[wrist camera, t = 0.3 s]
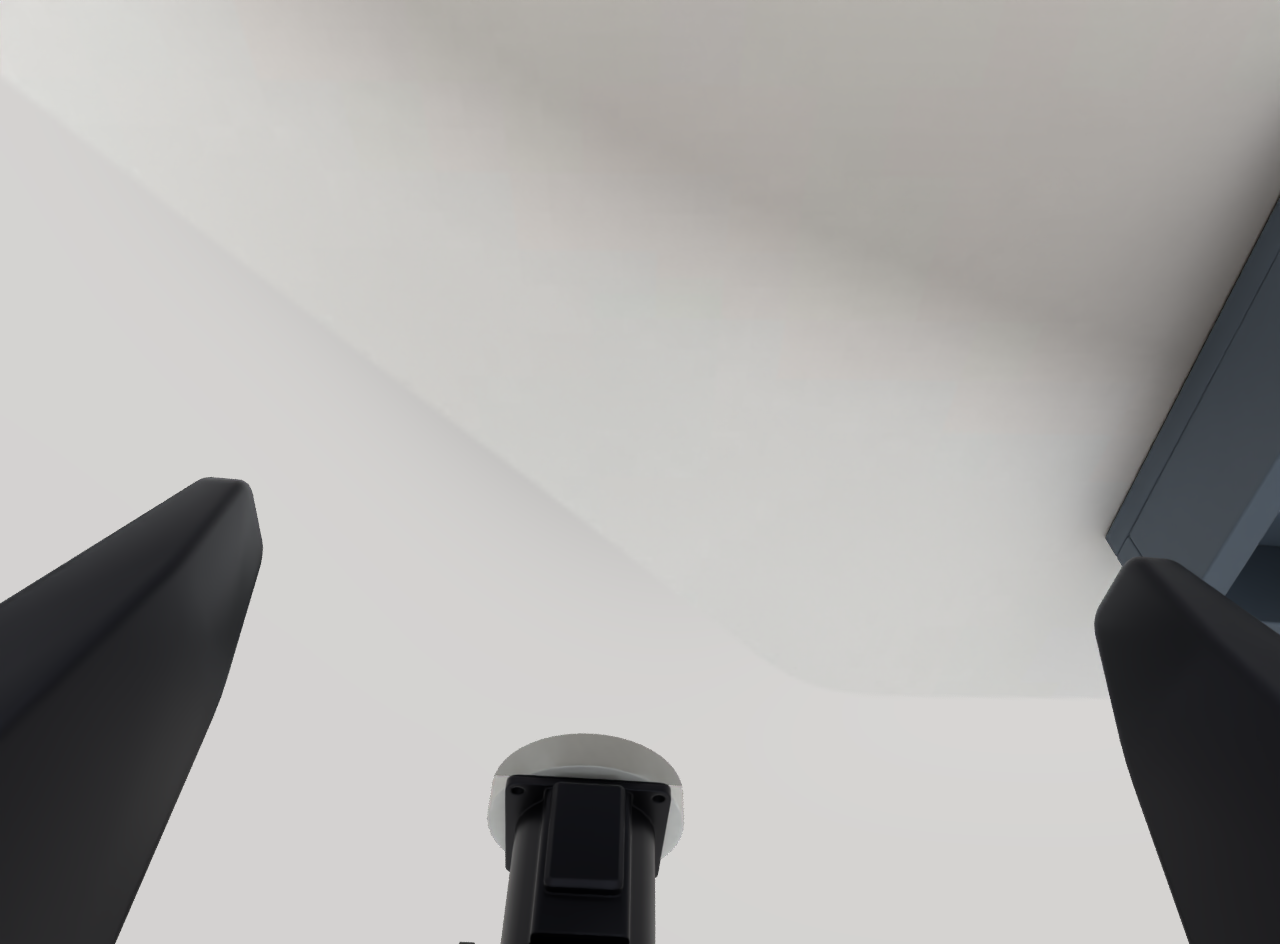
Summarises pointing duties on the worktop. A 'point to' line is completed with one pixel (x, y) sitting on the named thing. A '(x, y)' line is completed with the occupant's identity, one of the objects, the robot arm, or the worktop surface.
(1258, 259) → the bin
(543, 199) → the worktop surface
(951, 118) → the worktop surface
